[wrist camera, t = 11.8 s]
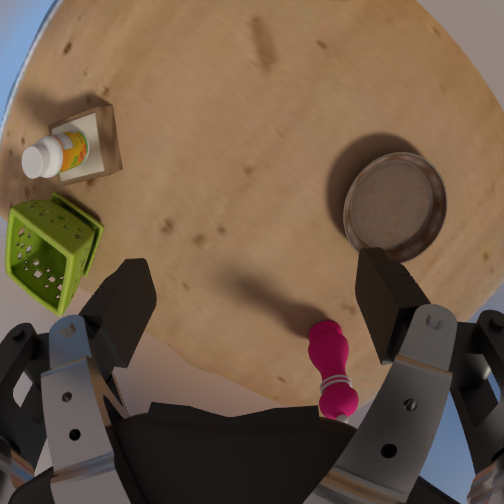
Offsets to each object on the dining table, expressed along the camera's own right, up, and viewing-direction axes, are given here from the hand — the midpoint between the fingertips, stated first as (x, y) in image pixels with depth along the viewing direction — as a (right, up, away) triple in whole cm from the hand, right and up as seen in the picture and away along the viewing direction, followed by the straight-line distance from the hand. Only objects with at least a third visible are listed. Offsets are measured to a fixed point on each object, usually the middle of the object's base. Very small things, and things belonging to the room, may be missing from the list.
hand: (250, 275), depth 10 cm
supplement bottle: (-25, +16, +22) cm, 37 cm away
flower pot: (-31, +5, +33) cm, 46 cm away
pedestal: (-25, +17, +26) cm, 40 cm away
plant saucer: (+21, +8, +29) cm, 37 cm away
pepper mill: (+14, -14, +41) cm, 45 cm away
